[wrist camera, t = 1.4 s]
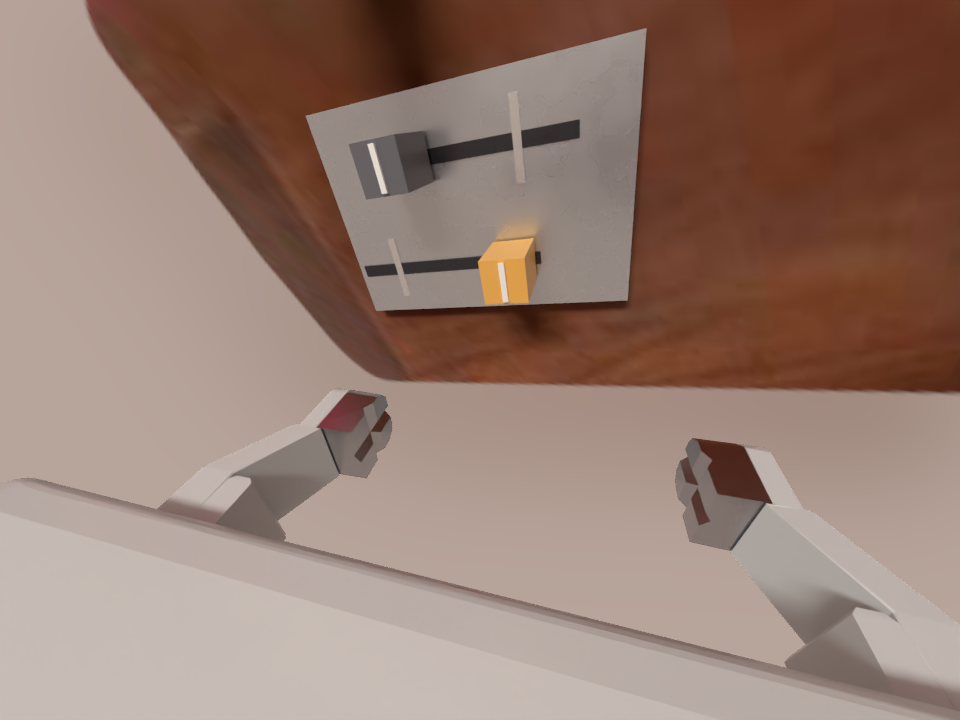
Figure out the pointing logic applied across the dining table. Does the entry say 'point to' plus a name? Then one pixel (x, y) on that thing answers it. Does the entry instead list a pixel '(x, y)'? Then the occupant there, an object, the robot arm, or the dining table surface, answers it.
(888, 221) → the dining table surface
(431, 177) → the grey striped slider knob
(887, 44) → the dining table surface
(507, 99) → the console board
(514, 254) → the orange slider knob
